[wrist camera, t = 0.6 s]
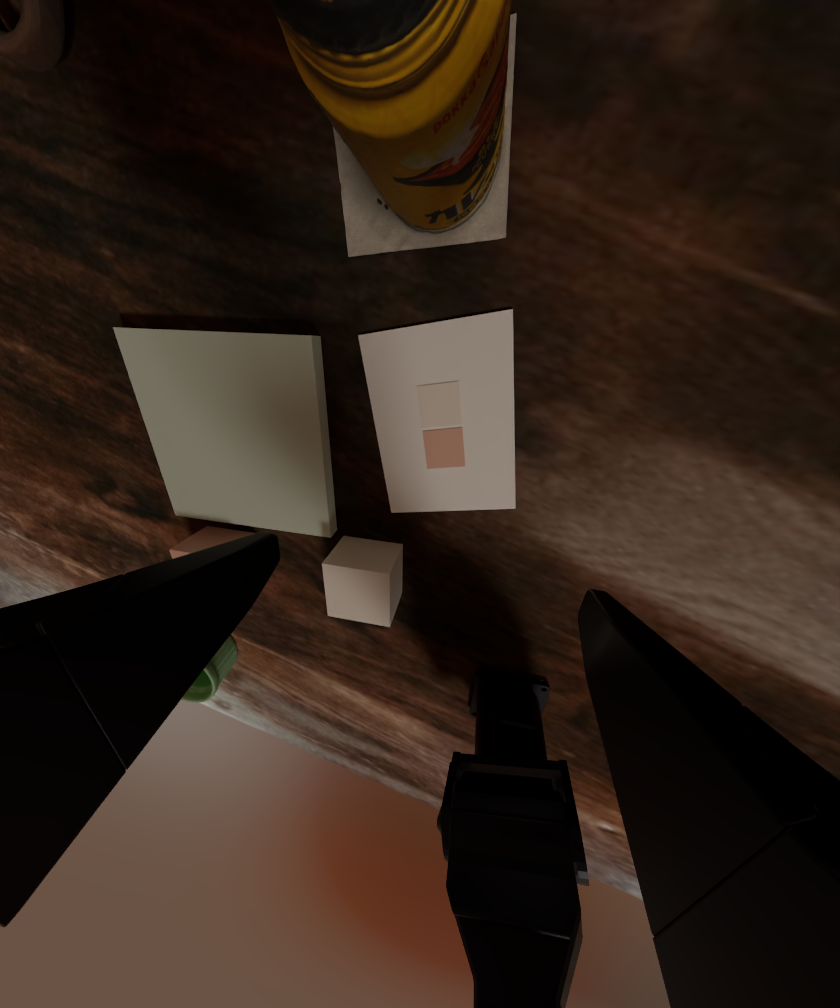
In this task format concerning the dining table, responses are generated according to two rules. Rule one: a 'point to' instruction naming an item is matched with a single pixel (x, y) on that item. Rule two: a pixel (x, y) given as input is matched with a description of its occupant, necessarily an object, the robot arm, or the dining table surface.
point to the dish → (35, 35)
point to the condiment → (412, 113)
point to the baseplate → (237, 425)
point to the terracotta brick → (206, 540)
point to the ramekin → (213, 673)
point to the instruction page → (445, 412)
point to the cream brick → (363, 580)
